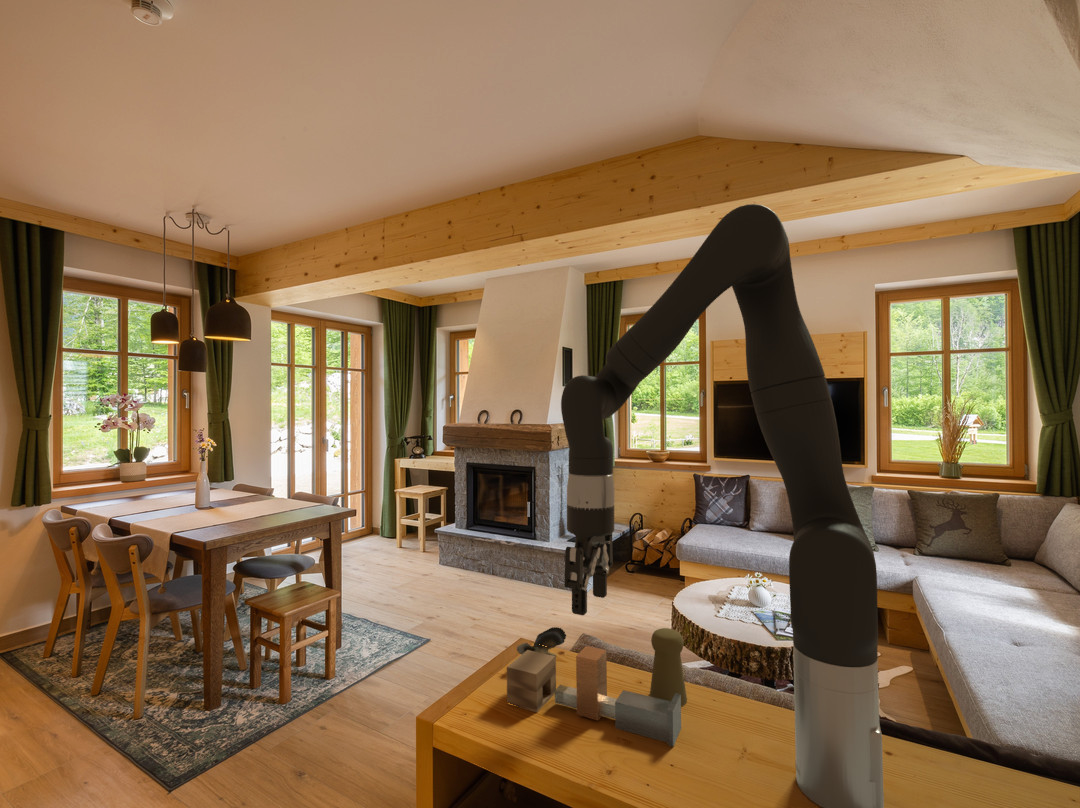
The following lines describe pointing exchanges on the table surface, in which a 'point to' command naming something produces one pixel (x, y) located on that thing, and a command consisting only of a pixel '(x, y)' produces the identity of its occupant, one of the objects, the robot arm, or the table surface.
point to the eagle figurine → (545, 641)
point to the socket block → (531, 680)
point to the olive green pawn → (667, 665)
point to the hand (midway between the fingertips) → (590, 604)
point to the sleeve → (649, 716)
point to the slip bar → (589, 686)
